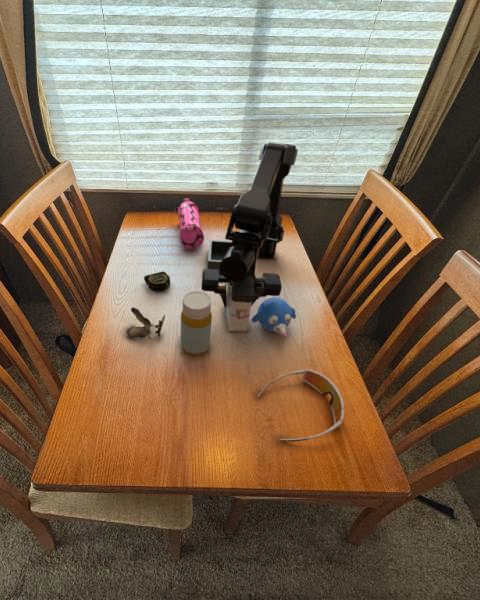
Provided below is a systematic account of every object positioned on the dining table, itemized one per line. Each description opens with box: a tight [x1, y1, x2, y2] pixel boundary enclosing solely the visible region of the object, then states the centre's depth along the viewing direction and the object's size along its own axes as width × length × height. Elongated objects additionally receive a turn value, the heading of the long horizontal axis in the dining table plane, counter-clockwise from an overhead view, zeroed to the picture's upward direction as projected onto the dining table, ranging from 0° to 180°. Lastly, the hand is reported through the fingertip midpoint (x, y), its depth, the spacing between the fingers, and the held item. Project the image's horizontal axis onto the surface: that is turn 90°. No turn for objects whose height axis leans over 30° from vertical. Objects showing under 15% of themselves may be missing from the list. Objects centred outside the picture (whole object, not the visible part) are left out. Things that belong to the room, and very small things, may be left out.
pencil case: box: [173, 198, 205, 250], centre depth 116 cm, size 21×10×10 cm, turn 7°
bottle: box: [180, 290, 213, 356], centre depth 74 cm, size 7×7×15 cm
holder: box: [207, 239, 232, 276], centre depth 104 cm, size 9×13×5 cm
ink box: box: [224, 285, 252, 332], centre depth 82 cm, size 9×5×12 cm, turn 4°
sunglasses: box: [257, 368, 345, 442], centre depth 66 cm, size 14×15×5 cm
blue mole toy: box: [251, 297, 297, 338], centre depth 81 cm, size 12×12×8 cm
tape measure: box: [143, 271, 171, 293], centre depth 95 cm, size 7×7×4 cm
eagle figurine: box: [125, 306, 166, 339], centre depth 80 cm, size 8×7×9 cm
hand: (236, 308), depth 83 cm, fingers closed on ink box, 5 cm apart
